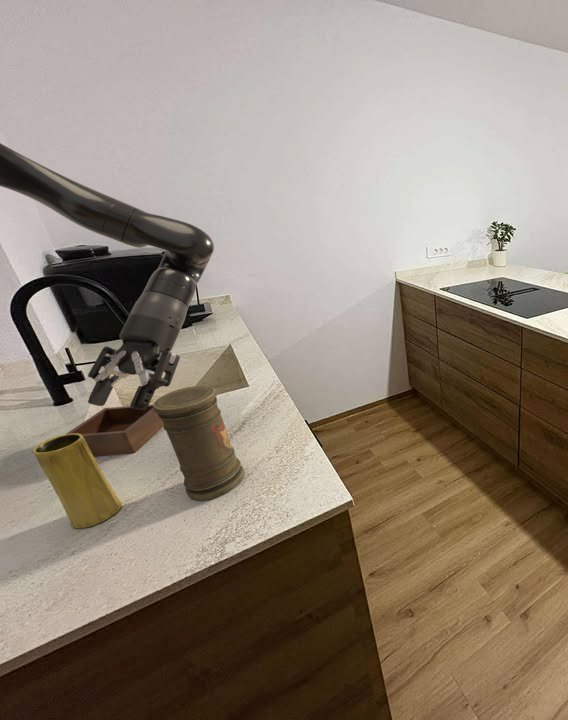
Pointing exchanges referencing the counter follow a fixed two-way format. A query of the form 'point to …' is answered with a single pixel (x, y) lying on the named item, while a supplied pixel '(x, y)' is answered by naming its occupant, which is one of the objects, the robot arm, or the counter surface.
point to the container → (200, 441)
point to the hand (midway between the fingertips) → (116, 406)
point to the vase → (77, 480)
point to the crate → (119, 430)
